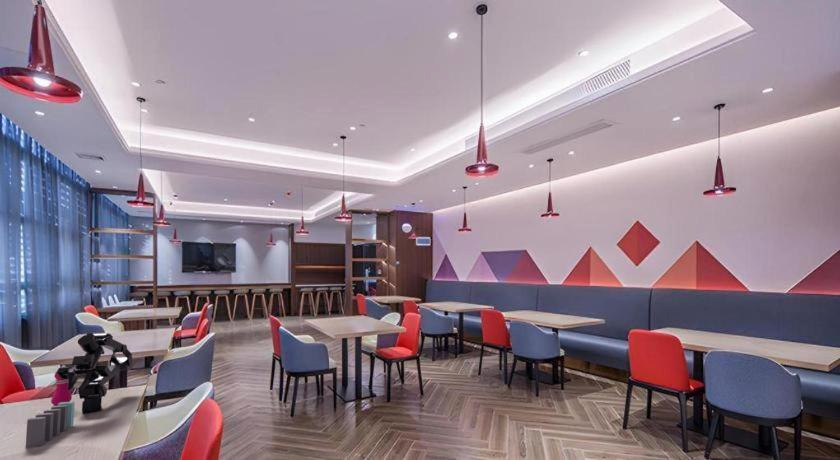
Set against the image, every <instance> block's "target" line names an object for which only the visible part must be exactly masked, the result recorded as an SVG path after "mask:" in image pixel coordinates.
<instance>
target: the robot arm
mask: <svg viewBox="0 0 840 460" xmlns="http://www.w3.org/2000/svg"><path fill="white" fill-rule="evenodd" d="M113 337H114V336H113V335H112V334H111V333H93V332H87V333H86V334H85V335H83V336H81V337H80V338H78V340H77V344H78V345H79V347H80V348H81V349H82V351H84V352H85V354H84V355H75V356H73V358H72V360H71V361H72V362H71V365H75V366H74V367H75V368H76V369H75V368H71V366H66V367H59V368H58V369H57V370H56V371H57V372H56V371H55V373H57V374H58V375H59V377H60V378H61V379H69V382H68V391H70V392H71V390H72V389H73V387H74V386H75V384H76V383H77V381H78V380H79V378H78V377H77V376H78V375H85V377H84V380H82V383H81V384H80V385H79V387H78V392H77V393H78V397H79V399H80V400H82V399H84V400H83V401H82V403H81V412H82V414H84V415H85V414H90V413H94V412H100V411H102V407H103V406H102V400H103V397H106V396H107V393H108V389H107V388H106V386H105V384H106V383H108V382H109V381H110V380H112V378H114V376H115V375H117V374H118V373H119V372H121V371H124V370H127V369H129V368H130V367H131V366H132V365H133V361H134V360H133V354H132V352H130V350H129V349H128V347H127V344H125V343H122V342H119V341H117V340H115V339H114V338H113ZM104 348H105V349H108V350H110V351H112V355H111V356H110V366H108V365H107V364H100V365H99V361H100V358H101V356H102V355H105V350H104ZM117 353H122V355H124V356H116V354H117Z"/></svg>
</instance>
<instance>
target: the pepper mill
mask: <svg viewBox="0 0 840 460" xmlns="http://www.w3.org/2000/svg"><path fill="white" fill-rule="evenodd" d="M61 367H67V366H66V365H64V364H63V365H62V366H61ZM61 367H60V368H61ZM56 372H57V370H56V371H55V372H54V378H55V384H56V386H55V387H56V389H55V392H54V393H53V395H52V396H51V401H50V403H51V404H52V406H51V407H53V406H58V404H59V403H61V402H71V401H72V398H73V397H72V393H71V390H70V391H68V382H69V379H61V378H60V377H59V375H58V374H57V373H56Z"/></svg>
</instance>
